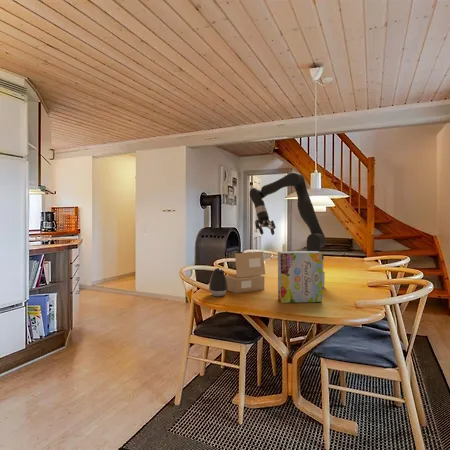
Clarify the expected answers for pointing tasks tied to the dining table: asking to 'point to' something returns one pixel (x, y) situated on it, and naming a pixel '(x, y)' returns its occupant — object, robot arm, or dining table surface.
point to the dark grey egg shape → (218, 283)
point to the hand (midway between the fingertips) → (267, 234)
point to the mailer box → (244, 283)
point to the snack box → (300, 276)
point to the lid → (249, 264)
